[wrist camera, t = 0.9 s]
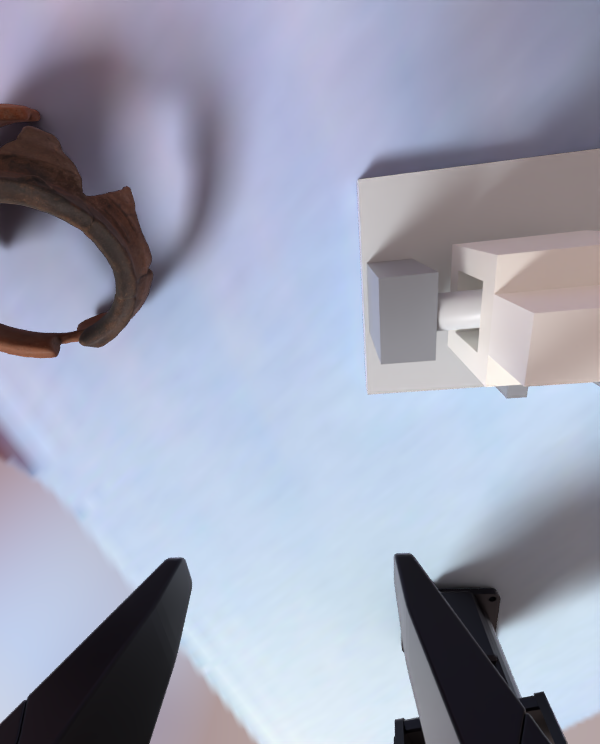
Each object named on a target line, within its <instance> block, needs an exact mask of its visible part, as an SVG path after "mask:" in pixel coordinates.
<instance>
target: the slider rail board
mask: <svg viewBox="0 0 600 744" xmlns="http://www.w3.org/2000/svg"><path fill="white" fill-rule="evenodd" d="M357 199H358V221H359V243H360V265H361V287H362V310H363V332H364V354H365V376H366V389H367V393H368V394H383V393H398V392H413V391H428V390H444V389H459V388H474V387H485V386H484V385H483V384H482V383H481V382H480V381H479V379H478V378H477V377H476V376H475V375H474V374H473V373H472V372H471V371H470V370H469V369H468V367H467V366H466V365H465V364H464V363H463V362H462V361H461V360H460V359H459V358H458V356H457V355H456V354H455V353H454V352H453V351H452V350H451V349H450V348H449V347H448V330H458V329H470V328H480V316H481V303H482V291H483V289H478V290H467V291H456V292H450V284H451V262H452V244H462V243H471V242H480V241H490V240H499V239H508V238H518V237H527V236H536V235H546V234H555V233H564V232H574V231H583V230H592V231H600V148H599V149H591V150H583V151H576V152H568V153H560V154H552V155H545V156H537V157H529V158H521V159H513V160H506V161H498V162H490V163H482V164H475V165H467V166H459V167H451V168H443V169H436V170H428V171H420V172H412V173H405V174H397V175H389V176H381V177H373V178H366V179H358V181H357ZM593 383H595V384H597V385H598V386H600V382H593ZM495 387H496V388H497V389H498V390H499V391H500V392H501V393H502V394H503V395H504V396H505V397H506V398H520V397H527V391H528V386H527V387H524V386H523V385H508V386H495Z"/></svg>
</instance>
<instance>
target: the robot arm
mask: <svg viewBox="0 0 600 744" xmlns="http://www.w3.org/2000/svg"><path fill="white" fill-rule="evenodd" d="M394 584H395V592H396V599H397V606H398V613H399V620H400V627H401V646H402V651H403V652H404V654H405V660H406V665H407V669H408V673H409V678H410V682H411V686H412V690H413V694H414V698H415V702H416V706H417V710H418V714H419V717H418V718H412V719H407V720H405V719H404V718H401V719H396V720H395V737H394V744H568V743H567V741H566V738H565V736H564V734H563V732H562V730H561V728H560V725H559V723H558V721H557V719H556V717H555V715H554V713H553V711H552V708H551V706H550V704H549V702H548V700H547V698H546V696H545V693H544V691H543V692H538V693H534V696H529V697H524V698H522V697H521V695H520V692H519V690H518V687H517V685H516V682H515V680H514V677H513V675H512V672H511V670H510V667H509V665H508V662H507V660H506V657H505V655H504V652H503V650H502V647H501V645H500V642H499V640H498V638H497V635H496V633H495V632H496V625H497V618H498V611H499V604H500V596H499V594H498V592H497V590H495V589H491V588H488V589H437V587H436V586H435V584H434V583H433V582H432V580H431V579H430V578H429V576H428V575H427V573H426V572H425V571H424V569H423V568H422V567H421V565H420V564H419V563H418V561H417V560H416V558H415V557H414V556H413V555H412V554H410V553H397V554H395V555H394ZM191 590H192V579H191V576H190V573H189V570H188V566H187V563H186V561H185V559H184V558H181V557H180V558H168V559H166V560H165V561H164V562H163V563H162V564H161V565H160V566H159V567H158V568H157V569H156V570H155V571H154V572H153V573H152V574H151V575H150V576H149V577H148V578H147V579H146V580H145V581H144V582H143V583H142V584H141V585H140V586H139V587H138V588H137V589H136V590H135V591H134V592H133V593H132V594H131V595H130V596H129V597H128V598H127V599H126V600H125V601H124V602H123V603H122V604H121V605H120V606H119V607H118V608H117V609H116V610H115V611H114V612H113V613H111V615H109V617H107V618H106V620H105V621H103V623H101V624H100V625H99V626H98V628H96V629H95V630H94V631H93V632H92V633H91V634H90V635H89V636H88V637H87V638H86V639H85V640H84V641H83V642H82V643H81V645H79V646H78V647H77V648H76V650H74V651H73V652H72V653H71V654H70V655H69V656H68V657H67V658H66V659H65V660H64V661H63V662H62V663H61V664H60V665H59V666H58V667H57V668H56V669H55V670H54V671H53V672H52V673H51V674H50V675H49V676H48V677H47V678H46V679H45V680H44V681H43V682H42V683H41V684H40V685H39V686H38V687H37V688H36V689H35V690H34V691H33V692H32V693H31V694H30V695H29V696H28V698H27V700H24V701H23V702H22V703H21V704H20V705H19V706H18V707H17V708H16V709H15V710H14V711H13V712H12V713H11V714H10V715H9V716H8V717H7V718H6V719H5V720H3V721H2V722H1V723H0V744H149V743H150V740H151V737H152V733H153V730H154V727H155V724H156V721H157V718H158V715H159V712H160V709H161V705H162V702H163V699H164V696H165V693H166V689H167V687H168V684H169V680H170V677H171V674H172V671H173V668H174V664H175V660H176V657H177V653H178V649H179V645H180V640H181V636H182V631H183V627H184V622H185V618H186V613H187V608H188V604H189V599H190V595H191Z"/></svg>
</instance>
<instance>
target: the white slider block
mask: <svg viewBox="0 0 600 744" xmlns="http://www.w3.org/2000/svg"><path fill="white" fill-rule="evenodd" d="M478 289H483V291H482V303H481V316H480V328H470V329H458V330H448V347H449V348H450V349H451V350H452V351H453V352H454V353H455V354H456V355H457V356H458V358H459V359H460V360H461V361H462V362H463V363H464V364H465V365H466V366H467V367H468V369H469V370H470V371H471V372H472V373H473V374H474V375H475V376H476V377H477V378H478V379H479V381H480V382H481V383H482V384H483V385H484V386H485V387H493V386H508V385H523V386H524V387H527V386H542V385H557V384H572V383H588V382H600V231H592V230H583V231H574V232H564V233H555V234H546V235H536V236H527V237H518V238H508V239H499V240H490V241H480V242H471V243H462V244H452V262H451V284H450V292H456V291H467V290H478Z"/></svg>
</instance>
